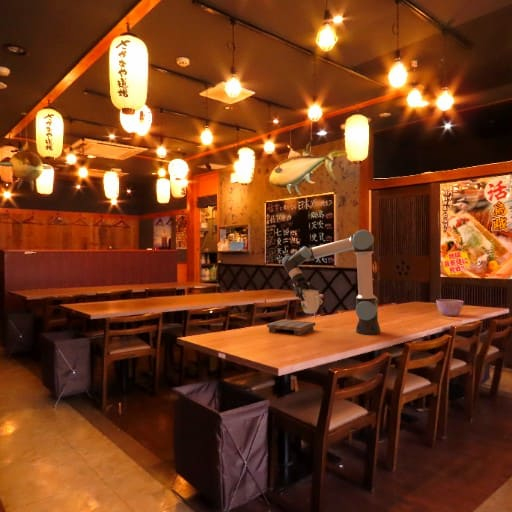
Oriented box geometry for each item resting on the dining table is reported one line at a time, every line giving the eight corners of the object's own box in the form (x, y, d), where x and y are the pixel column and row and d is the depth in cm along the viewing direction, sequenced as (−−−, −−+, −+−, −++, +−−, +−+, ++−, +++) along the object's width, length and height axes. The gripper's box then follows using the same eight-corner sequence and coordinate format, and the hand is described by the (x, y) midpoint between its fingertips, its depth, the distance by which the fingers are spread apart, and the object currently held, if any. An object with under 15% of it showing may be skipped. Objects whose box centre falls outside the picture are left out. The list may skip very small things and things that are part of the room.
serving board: (315, 329, 281) (315, 322, 281) (300, 336, 262) (300, 327, 262) (283, 326, 294) (283, 319, 293) (266, 332, 275) (266, 324, 275)
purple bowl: (468, 317, 325) (468, 302, 325) (442, 317, 326) (442, 302, 325) (456, 313, 345) (456, 299, 345) (431, 313, 346) (431, 299, 345)
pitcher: (310, 315, 249) (310, 292, 248) (295, 311, 265) (296, 289, 265) (326, 314, 253) (326, 291, 252) (311, 310, 269) (311, 288, 269)
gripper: (307, 279, 278) (325, 306, 266) (280, 281, 264) (297, 309, 252) (313, 271, 273) (331, 298, 261) (285, 273, 260) (303, 301, 248)
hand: (314, 304), depth 257 cm, fingers closed on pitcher, 11 cm apart
